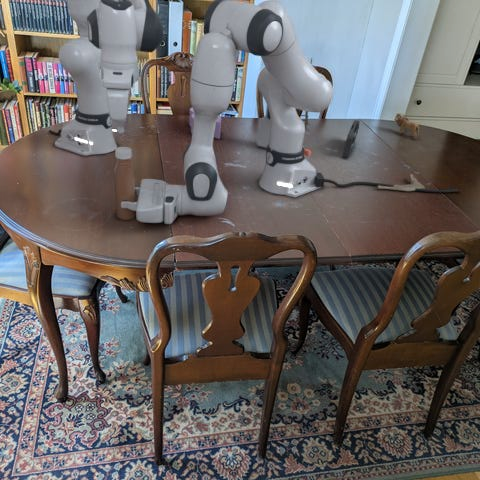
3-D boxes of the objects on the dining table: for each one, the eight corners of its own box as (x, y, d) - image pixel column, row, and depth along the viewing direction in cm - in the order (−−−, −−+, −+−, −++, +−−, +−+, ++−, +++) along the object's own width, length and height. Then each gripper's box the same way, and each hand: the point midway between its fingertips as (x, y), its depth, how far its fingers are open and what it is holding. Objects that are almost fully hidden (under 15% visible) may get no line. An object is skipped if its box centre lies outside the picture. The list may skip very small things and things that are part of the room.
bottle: (115, 211, 138) (111, 147, 127) (134, 209, 139) (132, 146, 129) (118, 220, 133) (114, 155, 123) (137, 218, 135) (135, 154, 124)
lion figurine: (389, 131, 222) (394, 113, 217) (394, 129, 226) (399, 111, 221) (418, 140, 215) (424, 121, 210) (423, 138, 218) (429, 119, 214)
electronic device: (288, 147, 193) (299, 72, 177) (283, 153, 187) (295, 76, 171) (259, 141, 196) (268, 67, 179) (254, 147, 190) (262, 71, 173)
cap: (114, 153, 127) (114, 146, 126) (130, 152, 129) (130, 146, 128) (116, 160, 124) (116, 153, 123) (132, 159, 125) (132, 152, 124)
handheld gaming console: (349, 160, 187) (354, 136, 182) (342, 158, 188) (347, 134, 183) (355, 142, 206) (361, 119, 201) (349, 140, 207) (354, 118, 201)
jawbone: (429, 189, 172) (431, 184, 171) (394, 201, 161) (396, 196, 160) (410, 177, 177) (412, 172, 176) (375, 189, 167) (376, 184, 165)
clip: (182, 123, 206) (183, 107, 202) (209, 122, 210) (210, 106, 207) (197, 140, 191) (197, 123, 187) (225, 138, 195) (226, 122, 191)
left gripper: (110, 61, 122) (113, 113, 130) (101, 82, 106) (105, 140, 113) (135, 63, 123) (136, 114, 131) (130, 84, 107) (132, 141, 114)
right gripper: (172, 174, 142) (125, 172, 140) (170, 207, 125) (117, 205, 123) (171, 192, 145) (126, 191, 144) (170, 227, 128) (118, 226, 126)
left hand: (122, 126), depth 122 cm, fingers open, 7 cm apart
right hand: (122, 198), depth 133 cm, fingers closed on bottle, 5 cm apart
